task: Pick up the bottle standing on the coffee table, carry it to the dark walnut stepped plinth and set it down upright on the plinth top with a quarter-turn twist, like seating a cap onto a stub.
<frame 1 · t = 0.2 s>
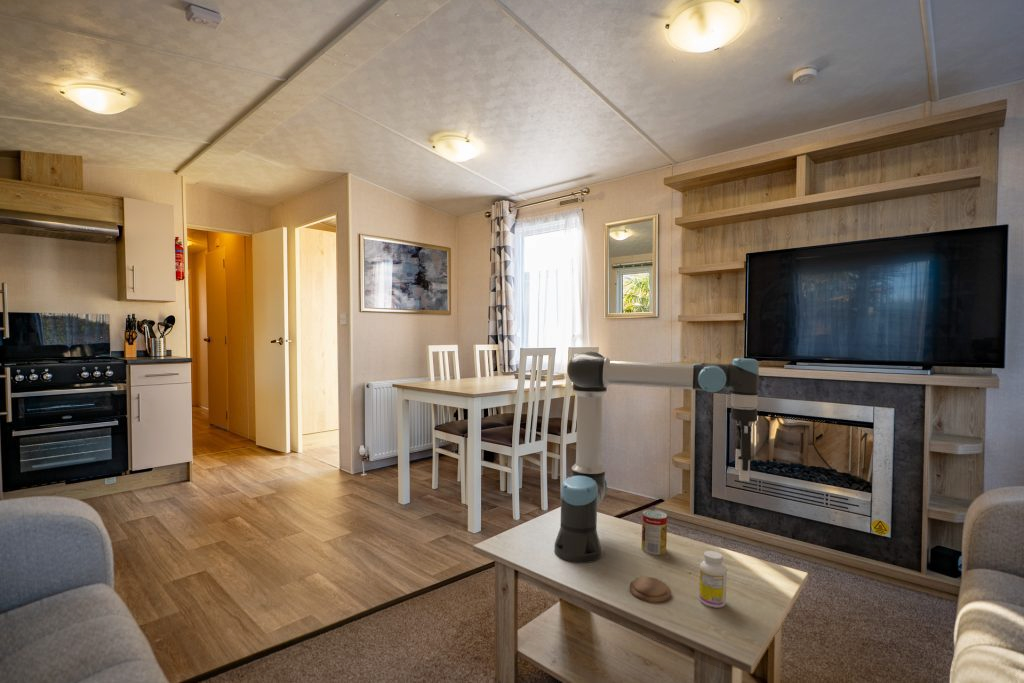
hand: (742, 475, 157), 28 cm above the table, fingers open, 13 cm apart
canned food: (653, 550, 166), on the table
supplement bottle: (712, 602, 134), on the table
plinth: (650, 592, 138), on the table
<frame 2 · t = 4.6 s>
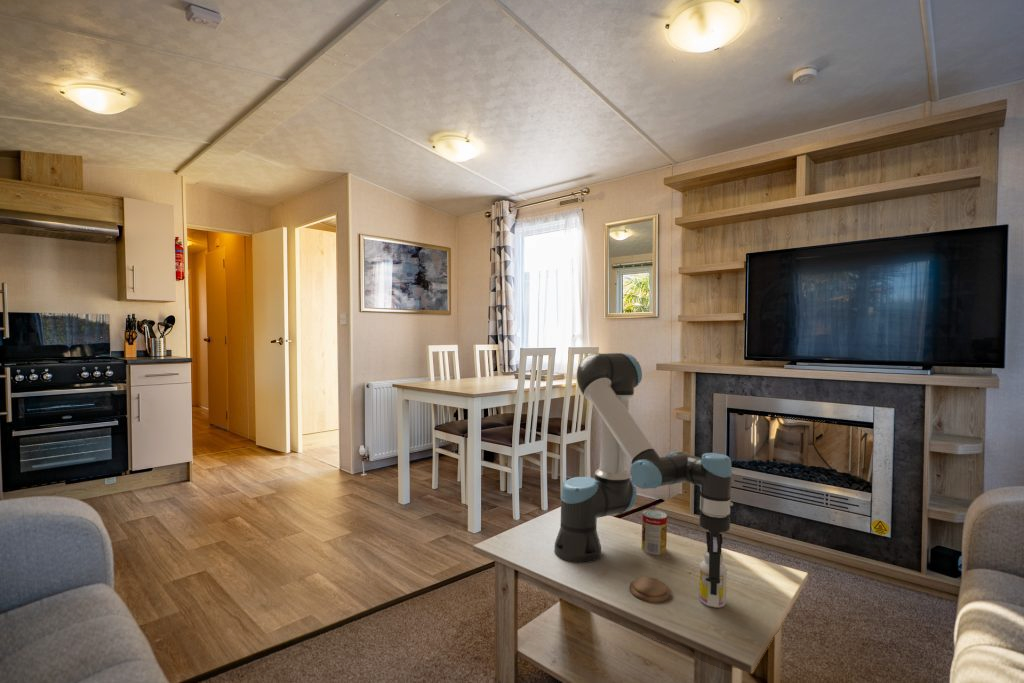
hand: (712, 598, 134), 1 cm above the table, fingers closed on supplement bottle, 7 cm apart
supplement bottle: (712, 602, 134), on the table, touching gripper
everything else where it was.
when the fingers open (4 cm above the table, at t = 9.1 s): supplement bottle drops 1 cm, resting on plinth.
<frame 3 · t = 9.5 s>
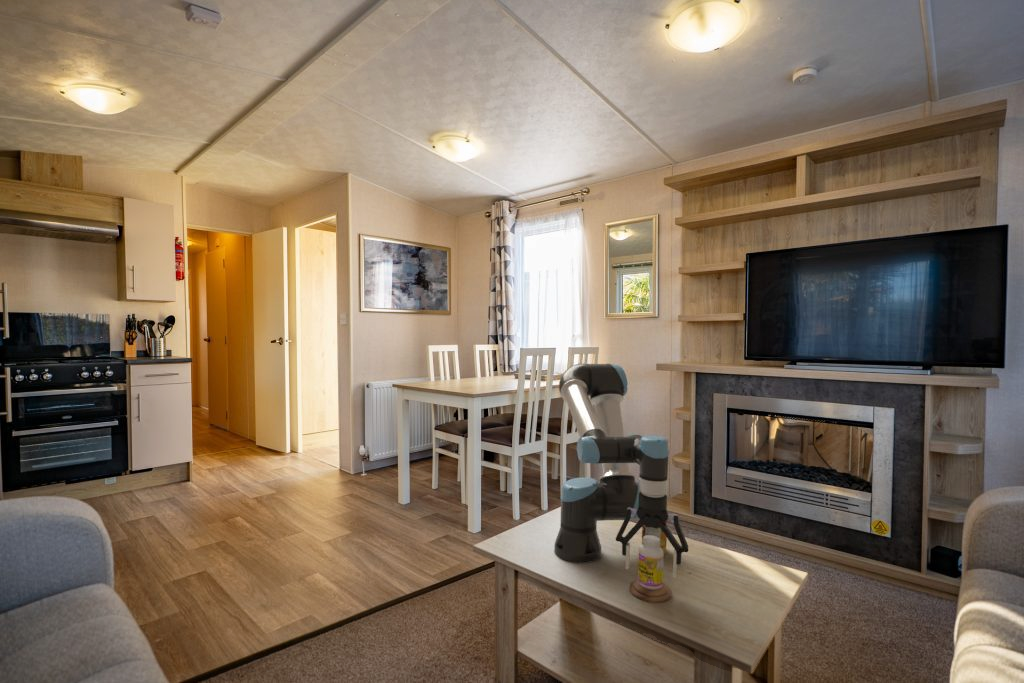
hand: (650, 571, 138), 6 cm above the table, fingers open, 12 cm apart
supplement bottle: (650, 585, 138), point 2 cm above the table, touching plinth
everything else where it was.
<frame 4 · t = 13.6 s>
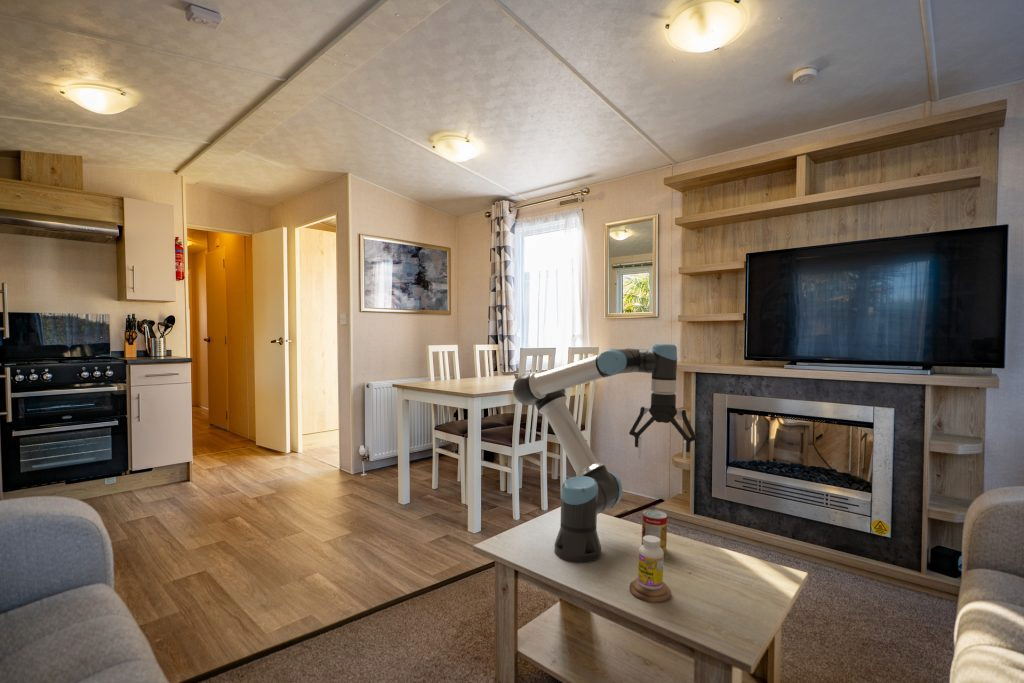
hand: (661, 460, 158), 32 cm above the table, fingers open, 13 cm apart
nothing on the table moved.
at the end: supplement bottle inside the target area on the plinth (0.1 cm from its centre), point 1.8 cm above the plinth's base; supplement bottle tilted 0°; the gripper is holding nothing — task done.
